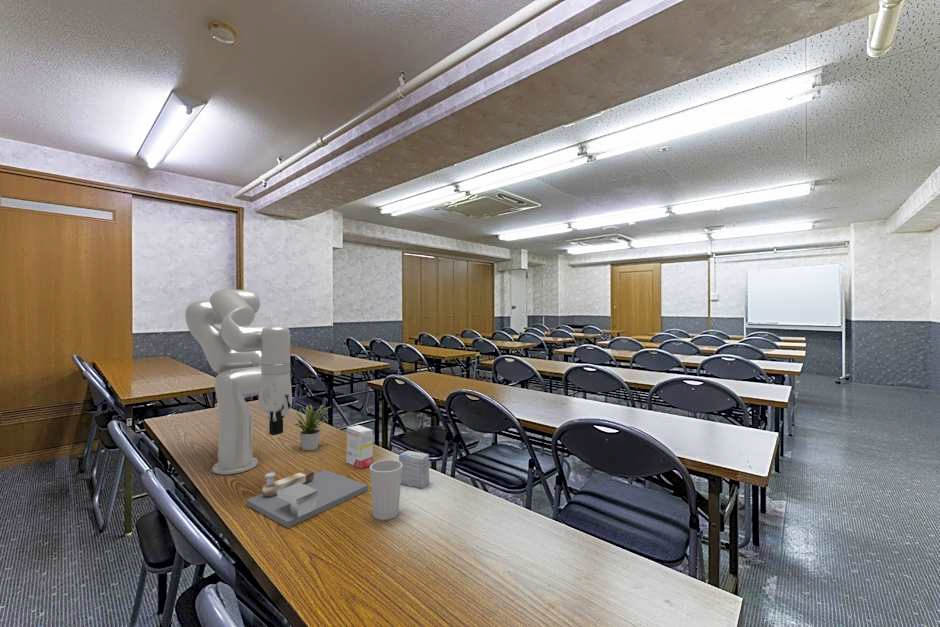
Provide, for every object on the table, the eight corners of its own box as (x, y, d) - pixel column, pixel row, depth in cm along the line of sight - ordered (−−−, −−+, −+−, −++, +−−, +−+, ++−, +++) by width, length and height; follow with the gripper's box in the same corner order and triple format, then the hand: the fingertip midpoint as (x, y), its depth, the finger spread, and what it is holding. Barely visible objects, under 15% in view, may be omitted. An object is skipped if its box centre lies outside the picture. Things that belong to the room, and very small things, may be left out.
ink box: (373, 465, 133) (373, 429, 133) (360, 469, 129) (361, 432, 129) (358, 458, 138) (358, 424, 138) (345, 462, 135) (345, 427, 134)
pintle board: (246, 505, 105) (246, 478, 105) (325, 474, 125) (325, 451, 125) (288, 528, 94) (288, 497, 94) (367, 490, 114) (367, 465, 114)
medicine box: (429, 483, 119) (429, 453, 119) (421, 489, 115) (421, 458, 115) (407, 478, 122) (407, 449, 122) (398, 484, 118) (398, 454, 118)
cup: (407, 508, 104) (408, 462, 104) (391, 524, 96) (392, 473, 96) (380, 503, 106) (380, 458, 106) (363, 518, 99) (363, 469, 99)
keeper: (277, 508, 100) (277, 490, 100) (299, 499, 105) (299, 482, 105) (295, 518, 96) (296, 499, 96) (318, 508, 101) (318, 490, 101)
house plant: (342, 446, 150) (342, 403, 150) (309, 458, 138) (309, 410, 138) (317, 440, 157) (317, 398, 157) (284, 450, 146) (284, 405, 146)
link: (267, 497, 105) (267, 489, 105) (259, 494, 107) (259, 486, 107) (314, 479, 116) (314, 472, 116) (306, 476, 118) (306, 469, 118)
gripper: (249, 369, 117) (249, 432, 117) (278, 373, 108) (278, 441, 108) (274, 366, 123) (274, 426, 123) (303, 370, 114) (303, 434, 114)
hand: (276, 433), depth 116 cm, fingers closed
